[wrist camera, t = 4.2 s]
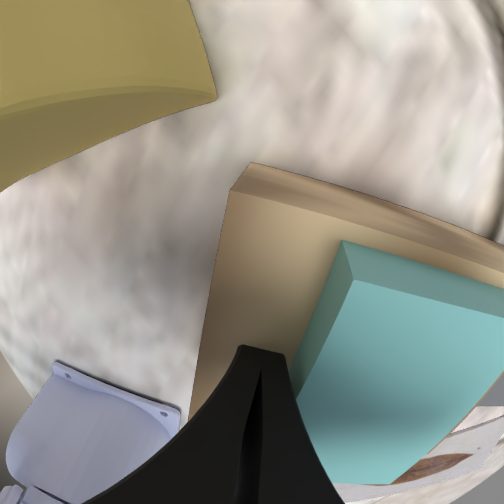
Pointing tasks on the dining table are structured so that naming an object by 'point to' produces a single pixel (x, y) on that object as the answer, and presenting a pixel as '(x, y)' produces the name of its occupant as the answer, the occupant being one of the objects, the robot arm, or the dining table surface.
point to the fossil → (436, 462)
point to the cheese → (91, 74)
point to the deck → (309, 261)
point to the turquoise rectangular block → (393, 361)
